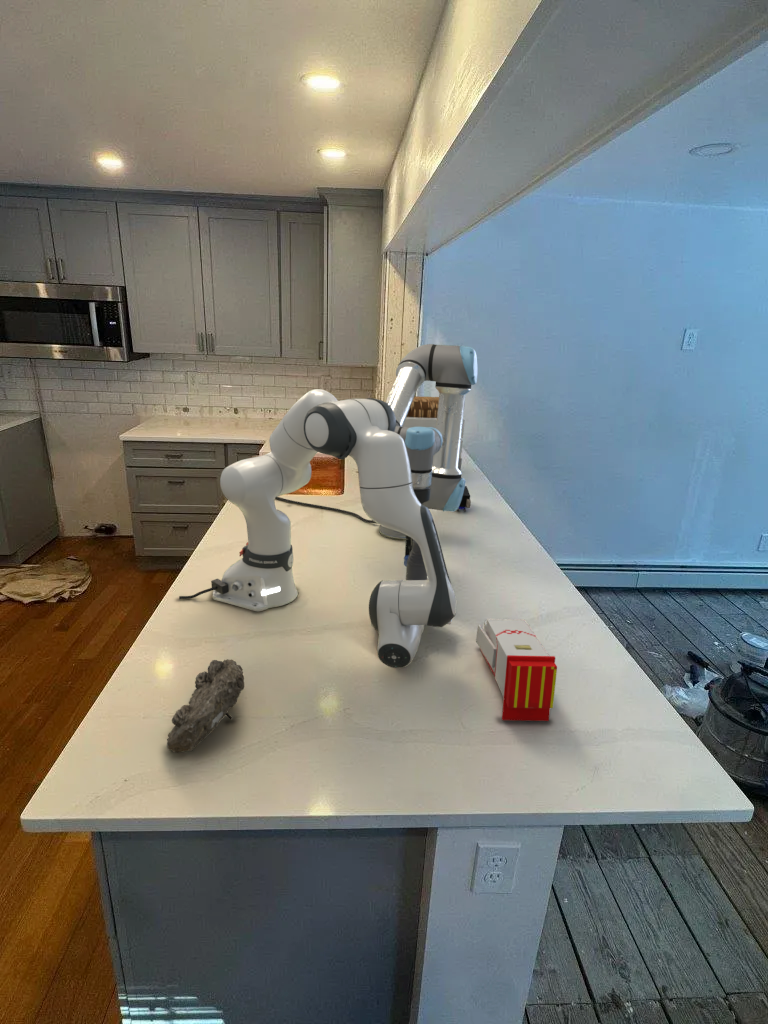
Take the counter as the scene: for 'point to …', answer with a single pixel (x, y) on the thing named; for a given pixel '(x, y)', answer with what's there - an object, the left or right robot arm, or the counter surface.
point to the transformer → (426, 416)
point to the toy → (519, 668)
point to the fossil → (206, 705)
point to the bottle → (415, 564)
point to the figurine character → (465, 500)
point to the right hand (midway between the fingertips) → (411, 564)
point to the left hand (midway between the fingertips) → (415, 592)
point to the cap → (405, 560)
